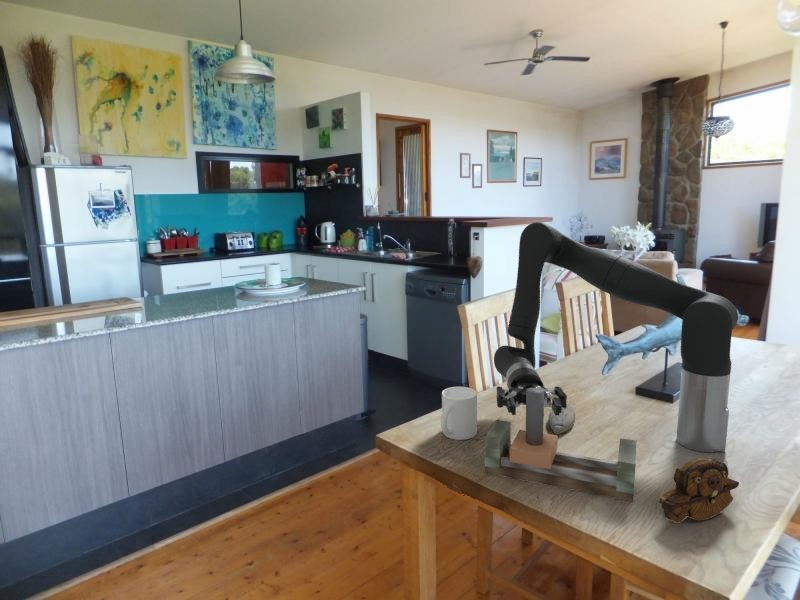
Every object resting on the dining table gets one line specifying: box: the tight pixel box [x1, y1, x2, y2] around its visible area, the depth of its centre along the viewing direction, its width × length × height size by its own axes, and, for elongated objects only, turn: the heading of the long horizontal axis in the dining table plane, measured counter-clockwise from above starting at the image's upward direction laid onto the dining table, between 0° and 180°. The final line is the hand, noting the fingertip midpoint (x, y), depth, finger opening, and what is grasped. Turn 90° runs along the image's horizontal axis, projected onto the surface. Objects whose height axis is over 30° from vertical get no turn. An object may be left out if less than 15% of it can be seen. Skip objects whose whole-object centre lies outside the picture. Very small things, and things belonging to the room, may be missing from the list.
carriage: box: [510, 388, 558, 469], centre depth 107 cm, size 8×9×14 cm
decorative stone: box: [548, 402, 576, 435], centre depth 130 cm, size 6×16×3 cm, turn 158°
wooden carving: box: [658, 457, 740, 524], centre depth 90 cm, size 16×5×10 cm, turn 115°
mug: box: [440, 386, 478, 441], centre depth 124 cm, size 12×8×10 cm
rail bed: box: [484, 419, 637, 502], centre depth 106 cm, size 28×10×8 cm, turn 65°
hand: (535, 410), depth 105 cm, fingers open, 8 cm apart
